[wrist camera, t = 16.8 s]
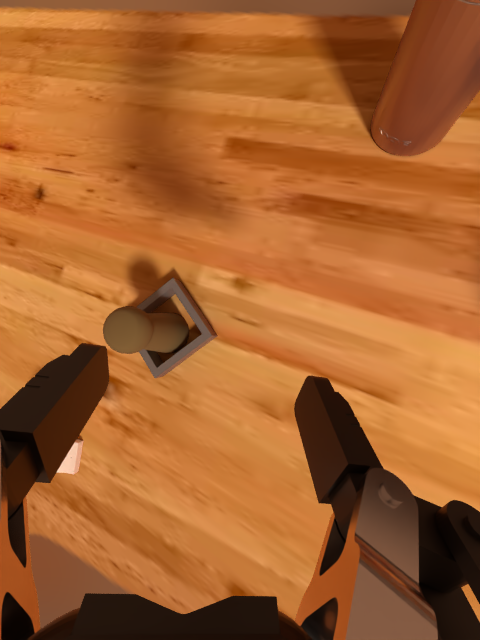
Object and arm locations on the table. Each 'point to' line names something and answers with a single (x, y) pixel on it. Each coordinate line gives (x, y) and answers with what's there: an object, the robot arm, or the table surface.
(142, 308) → the square frame
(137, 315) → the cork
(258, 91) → the table surface
